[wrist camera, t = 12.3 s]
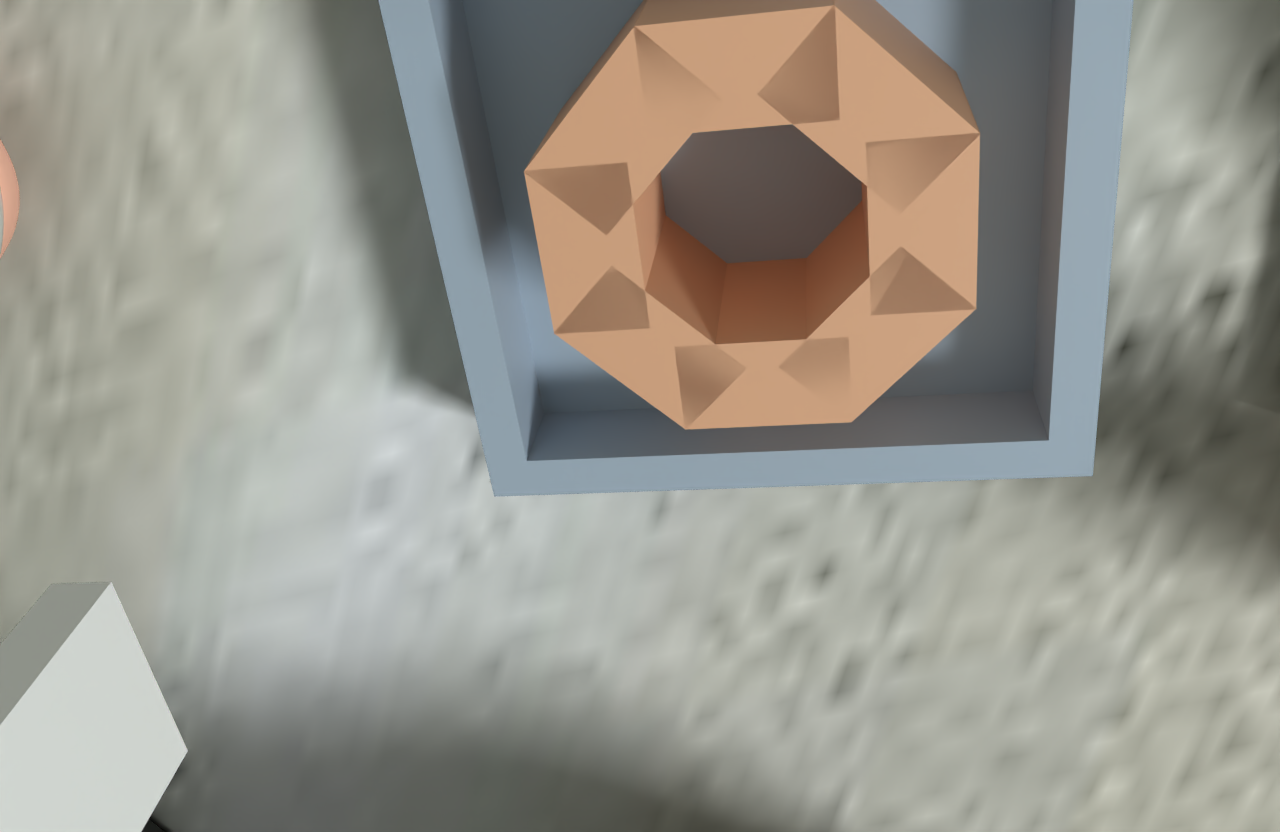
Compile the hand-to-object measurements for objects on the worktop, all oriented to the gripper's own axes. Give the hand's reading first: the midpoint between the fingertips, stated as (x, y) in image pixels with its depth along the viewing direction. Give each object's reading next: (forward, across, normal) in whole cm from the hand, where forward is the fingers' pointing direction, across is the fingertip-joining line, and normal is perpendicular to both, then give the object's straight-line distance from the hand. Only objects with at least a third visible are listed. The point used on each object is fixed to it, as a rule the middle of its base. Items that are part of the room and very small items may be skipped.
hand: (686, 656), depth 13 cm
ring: (+15, 0, 0) cm, 15 cm away
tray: (+16, +1, 0) cm, 16 cm away
